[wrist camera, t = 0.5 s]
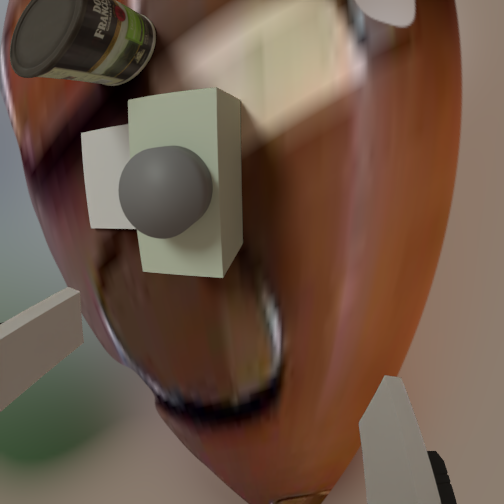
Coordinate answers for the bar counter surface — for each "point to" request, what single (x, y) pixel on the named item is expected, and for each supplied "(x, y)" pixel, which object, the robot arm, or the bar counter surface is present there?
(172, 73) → the bar counter surface
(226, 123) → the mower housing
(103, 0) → the coffee can
